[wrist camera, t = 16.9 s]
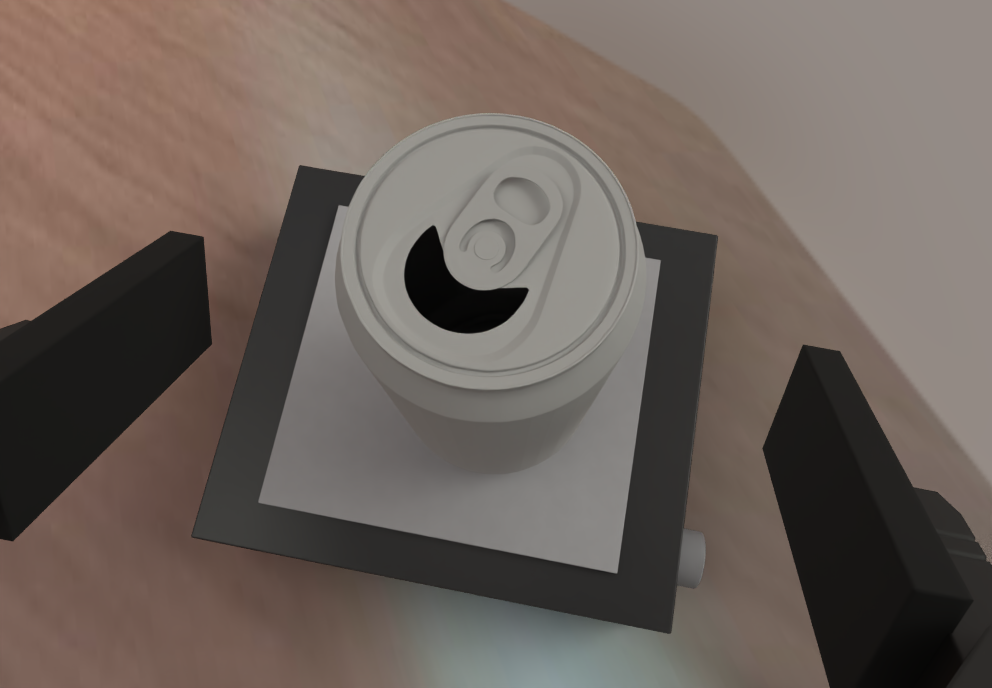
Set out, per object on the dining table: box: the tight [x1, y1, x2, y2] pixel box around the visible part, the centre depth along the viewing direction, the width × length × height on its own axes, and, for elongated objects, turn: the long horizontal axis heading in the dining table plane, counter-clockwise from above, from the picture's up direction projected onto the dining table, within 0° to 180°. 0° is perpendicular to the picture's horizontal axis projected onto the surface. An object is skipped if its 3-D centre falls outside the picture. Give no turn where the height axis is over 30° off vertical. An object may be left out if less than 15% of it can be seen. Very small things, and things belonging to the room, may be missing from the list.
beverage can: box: [335, 113, 646, 474], centre depth 19 cm, size 6×6×12 cm
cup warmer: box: [191, 165, 718, 634], centre depth 28 cm, size 17×14×5 cm
